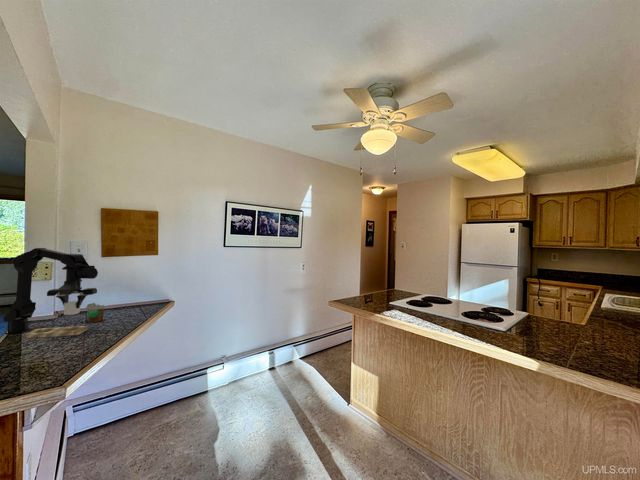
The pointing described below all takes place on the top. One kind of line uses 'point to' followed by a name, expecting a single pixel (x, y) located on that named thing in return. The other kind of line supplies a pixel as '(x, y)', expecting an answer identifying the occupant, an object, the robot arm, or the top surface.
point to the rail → (56, 331)
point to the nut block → (71, 308)
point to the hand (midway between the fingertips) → (72, 308)
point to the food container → (95, 313)
